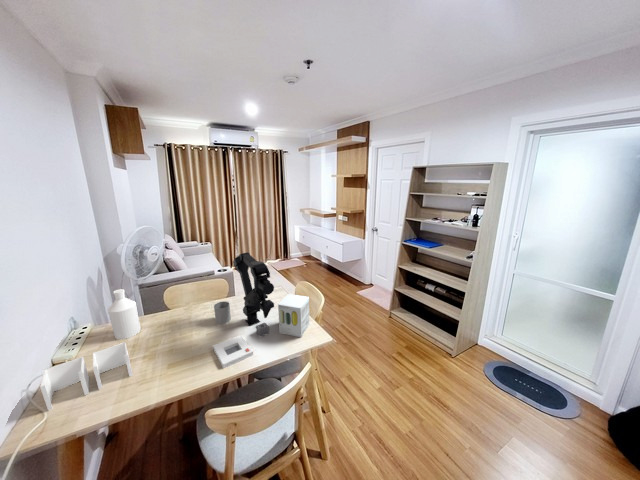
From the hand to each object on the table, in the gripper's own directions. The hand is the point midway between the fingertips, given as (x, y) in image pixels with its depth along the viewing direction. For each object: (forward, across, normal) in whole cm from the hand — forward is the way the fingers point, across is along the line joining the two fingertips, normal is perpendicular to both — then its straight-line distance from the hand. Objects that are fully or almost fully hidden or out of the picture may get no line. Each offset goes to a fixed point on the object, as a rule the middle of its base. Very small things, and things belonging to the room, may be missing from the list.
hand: (261, 313), depth 133 cm
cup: (+12, -26, -13) cm, 32 cm away
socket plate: (+12, +5, -18) cm, 22 cm away
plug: (+12, 0, 0) cm, 12 cm away
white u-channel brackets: (+12, -12, -70) cm, 72 cm away
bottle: (+13, -45, -58) cm, 74 cm away
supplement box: (+12, +7, +16) cm, 21 cm away
